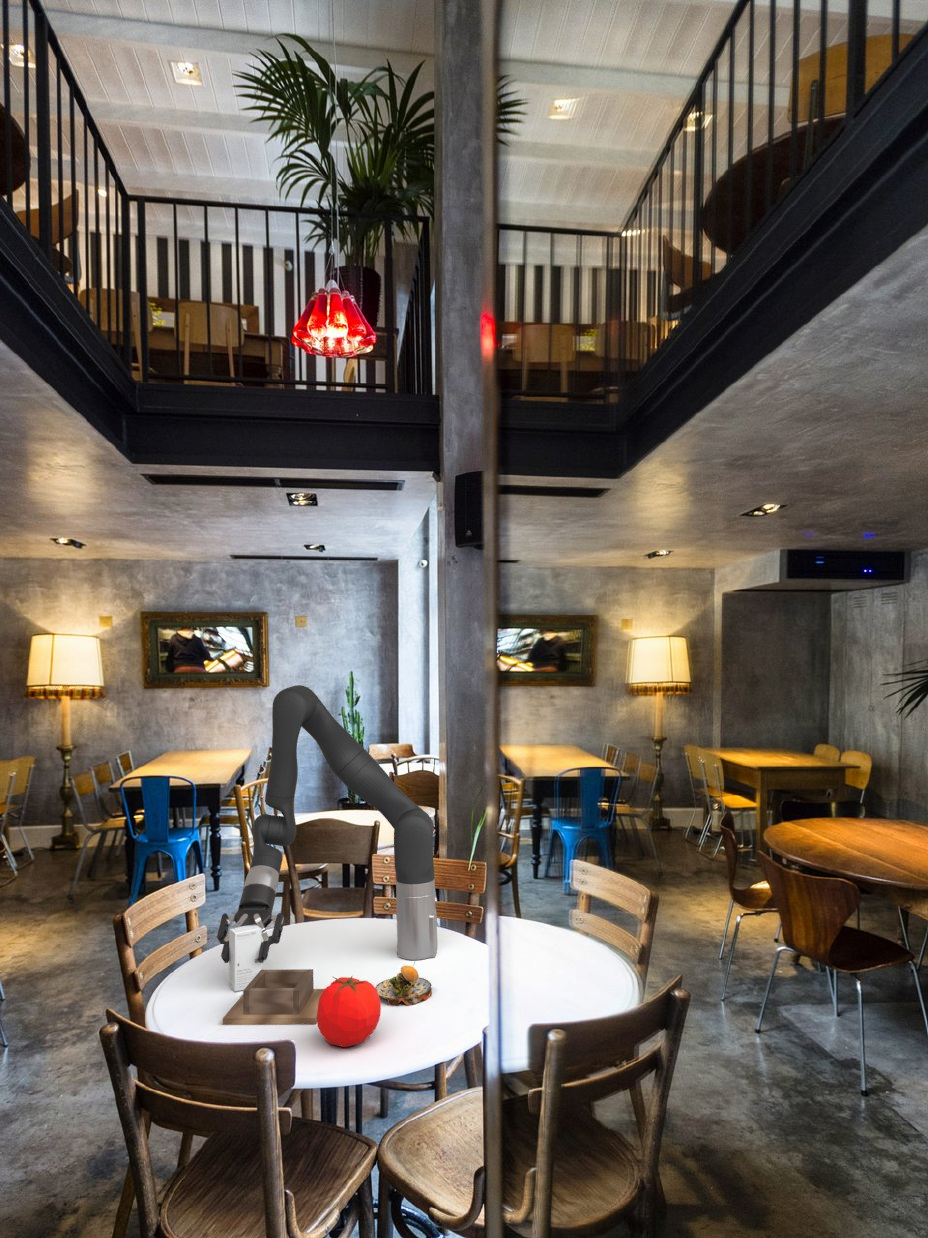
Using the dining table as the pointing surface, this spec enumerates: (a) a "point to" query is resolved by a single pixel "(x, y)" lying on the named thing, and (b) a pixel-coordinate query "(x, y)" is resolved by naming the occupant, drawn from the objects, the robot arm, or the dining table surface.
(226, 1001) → the dining table surface
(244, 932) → the skincare box
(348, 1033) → the tomato
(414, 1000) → the plate of food
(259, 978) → the sleeve stand
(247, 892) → the robot arm
